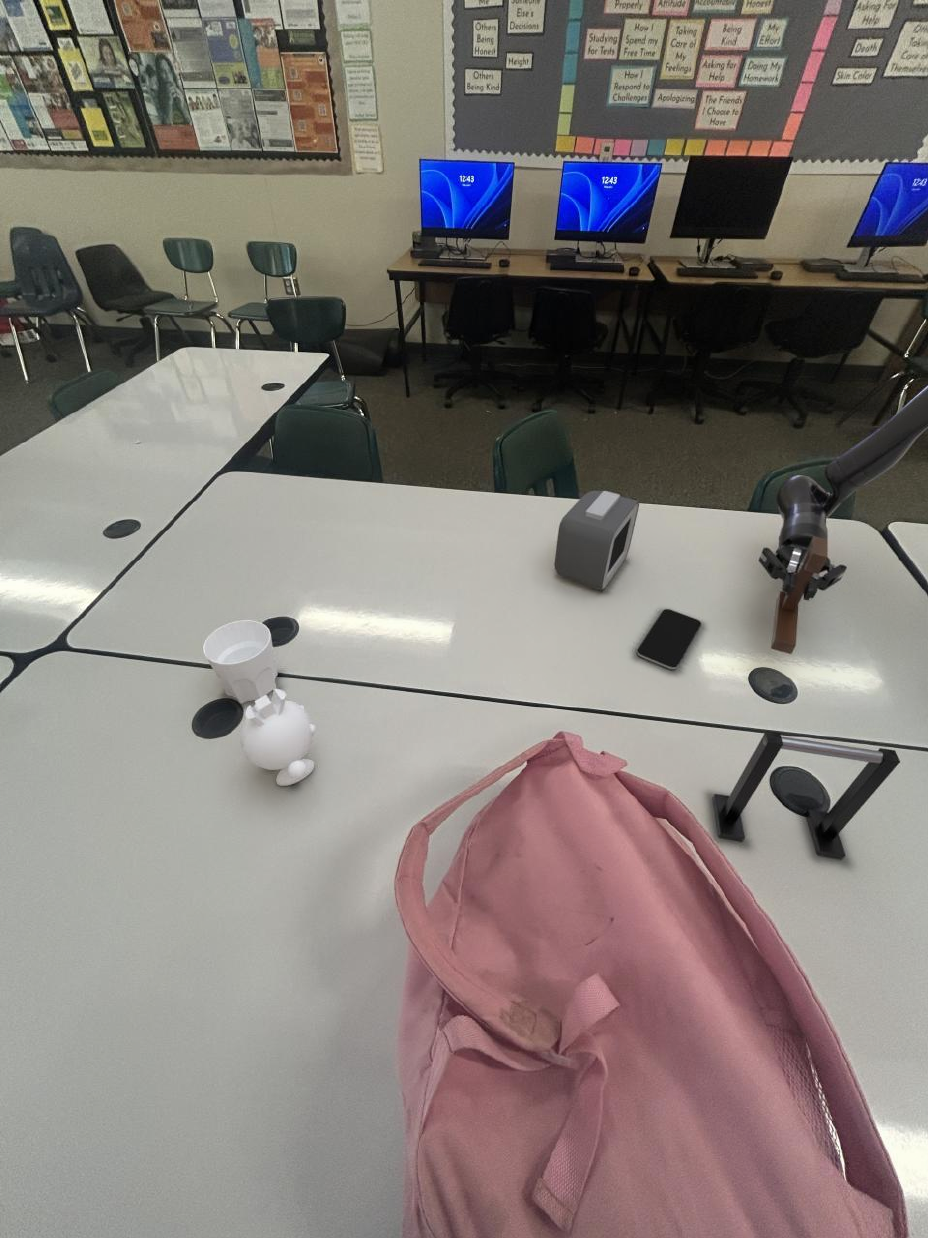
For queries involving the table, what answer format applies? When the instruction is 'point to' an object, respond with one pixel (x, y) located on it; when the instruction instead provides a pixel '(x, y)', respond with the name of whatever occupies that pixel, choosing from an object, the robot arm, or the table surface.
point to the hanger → (796, 597)
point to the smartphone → (669, 639)
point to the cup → (242, 659)
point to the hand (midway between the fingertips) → (799, 593)
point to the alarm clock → (595, 538)
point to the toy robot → (278, 737)
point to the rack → (820, 823)
